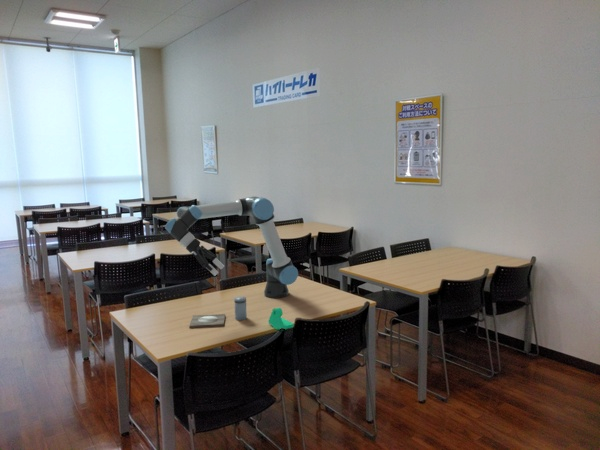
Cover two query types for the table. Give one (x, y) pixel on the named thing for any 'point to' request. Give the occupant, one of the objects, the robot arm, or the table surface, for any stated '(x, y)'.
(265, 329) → the table surface
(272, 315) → the green toy figure
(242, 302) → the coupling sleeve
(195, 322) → the mounting plate
